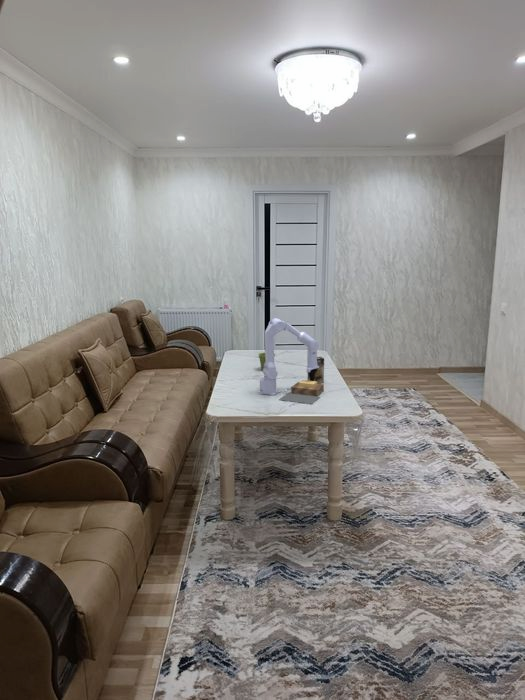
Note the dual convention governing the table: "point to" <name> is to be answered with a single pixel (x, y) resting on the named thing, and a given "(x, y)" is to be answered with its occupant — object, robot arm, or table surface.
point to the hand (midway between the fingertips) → (312, 381)
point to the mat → (299, 398)
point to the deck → (307, 389)
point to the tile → (308, 383)
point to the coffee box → (319, 371)
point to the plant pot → (262, 360)
